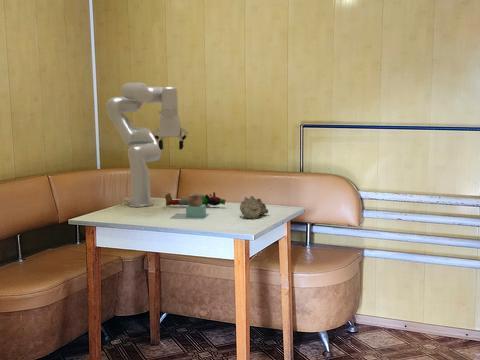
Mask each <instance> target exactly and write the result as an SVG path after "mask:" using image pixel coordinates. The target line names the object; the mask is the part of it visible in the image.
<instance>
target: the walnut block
mask: <svg viewBox="0 0 480 360" xmlns="http://www.w3.org/2000/svg"><path fill="white" fill-rule="evenodd" d="M202 195H203V194H202V193H190V194H189V195H187V196H188V197H187V199H188V198H189V207H200V206H201V205H202Z"/></svg>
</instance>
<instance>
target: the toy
mask: <svg viewBox="0 0 480 360" xmlns="http://www.w3.org/2000/svg"><path fill="white" fill-rule="evenodd" d="M164 200H165V206H166V207H169V206H187V205H189V198H188V197H187V198H180V199H173V198H172V194H171V193H170V192H168V193H166V194H165V199H164ZM226 202H227V200H226V199H225V198H224V199H223V198H220V197H219V196H217V195H216V192H213V193H212V194H211V193H210V194H209V195H208V194H207V193H206V194H204V195H203V194H202V205H206V208H208V206H209V207H211V206H214V207H215V206H218V205H223V206H224V205H226ZM210 205H211V206H210ZM180 212H183V213H186V207H185V208H182V209H181V210H180Z"/></svg>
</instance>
